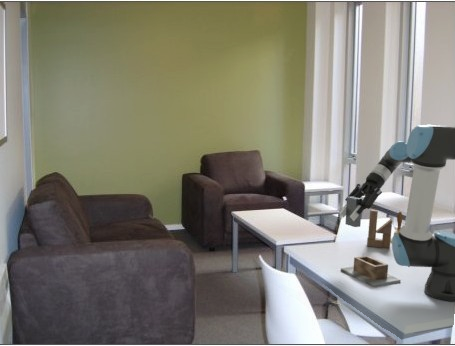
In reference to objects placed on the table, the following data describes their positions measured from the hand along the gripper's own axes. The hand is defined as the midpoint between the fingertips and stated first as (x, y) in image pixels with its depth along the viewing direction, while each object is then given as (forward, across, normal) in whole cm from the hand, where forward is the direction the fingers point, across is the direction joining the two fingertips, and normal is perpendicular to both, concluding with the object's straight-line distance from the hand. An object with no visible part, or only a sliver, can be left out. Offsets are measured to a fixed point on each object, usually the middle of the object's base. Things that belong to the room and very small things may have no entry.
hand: (346, 217), depth 222 cm
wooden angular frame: (-11, +18, -42) cm, 47 cm away
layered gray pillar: (0, 0, -5) cm, 5 cm away
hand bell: (-21, +20, -52) cm, 60 cm away
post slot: (+14, -13, -18) cm, 26 cm away
